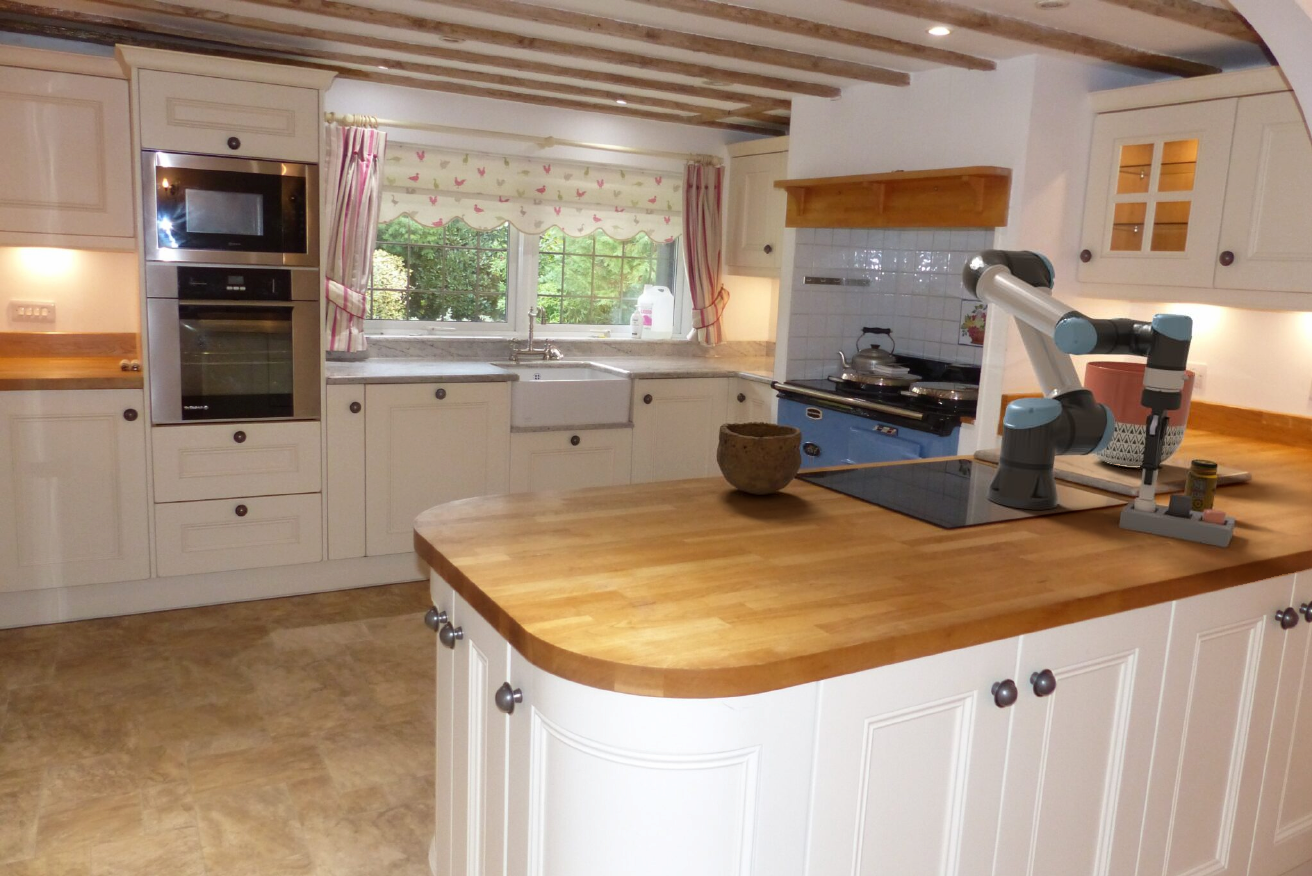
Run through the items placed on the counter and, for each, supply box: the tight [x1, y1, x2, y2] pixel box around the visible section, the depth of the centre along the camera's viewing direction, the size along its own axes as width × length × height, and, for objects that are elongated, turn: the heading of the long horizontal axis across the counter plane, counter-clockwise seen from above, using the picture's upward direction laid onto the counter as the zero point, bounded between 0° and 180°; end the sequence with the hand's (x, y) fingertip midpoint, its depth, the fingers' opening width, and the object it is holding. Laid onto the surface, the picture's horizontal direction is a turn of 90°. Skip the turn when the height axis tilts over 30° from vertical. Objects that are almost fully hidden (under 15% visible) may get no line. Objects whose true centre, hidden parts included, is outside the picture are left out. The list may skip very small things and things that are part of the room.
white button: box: [1134, 496, 1157, 513], centre depth 214 cm, size 4×4×4 cm
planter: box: [1083, 360, 1196, 466], centre depth 273 cm, size 27×27×27 cm
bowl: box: [716, 421, 803, 496], centre depth 224 cm, size 19×19×15 cm
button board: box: [1118, 499, 1236, 548], centre depth 211 cm, size 20×12×4 cm, turn 56°
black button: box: [1168, 493, 1192, 518], centre depth 210 cm, size 4×4×4 cm
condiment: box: [1183, 459, 1219, 512], centre depth 226 cm, size 7×8×12 cm
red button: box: [1202, 508, 1227, 525], centre depth 207 cm, size 4×4×4 cm
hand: (1146, 498), depth 214 cm, fingers closed
